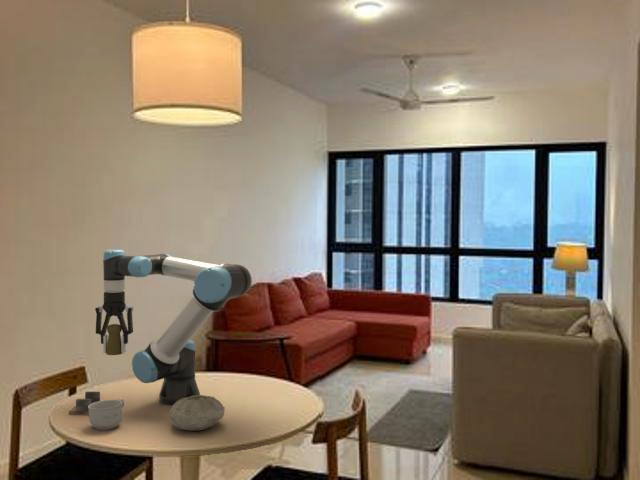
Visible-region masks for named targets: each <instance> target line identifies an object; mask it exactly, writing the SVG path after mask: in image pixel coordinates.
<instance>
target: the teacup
mask: <svg viewBox="0 0 640 480" xmlns="http://www.w3.org/2000/svg"><path fill="white" fill-rule="evenodd" d="M124 407H125V401H124V399H123V398H117V399H103V400H100V401H98V402H94V403H92V404H90V405H89V406H88V408H89V414H88V417H89V419H88V420H89V423H90V424H89V425H91V426H92V427H93V428H94V429H96V430H99V431H108V430H111V429H114V428H116V427H118V426H119V424H120V423H121V422H122V421H123V416H124V415H123V414H124V413H123V410H124V409H123V408H124Z"/></svg>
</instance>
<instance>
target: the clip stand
mask: <svg viewBox="0 0 640 480" xmlns="http://www.w3.org/2000/svg"><path fill="white" fill-rule="evenodd" d="M98 401H101V391H85V392H84V398H76V399H75V406H73V407H72V408H71V409H70V410H69V411H68V415H89V408H88V406H89V405H90V404H92V403H94V402H98Z"/></svg>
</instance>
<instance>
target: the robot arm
mask: <svg viewBox="0 0 640 480" xmlns="http://www.w3.org/2000/svg"><path fill="white" fill-rule="evenodd" d="M102 265H103V266H102V267H103V291H104V292H103V304H102V306H96V307H95V308H94V310H95V313H96V316H95V317H96V318H95V334H97V335H99V336H100V343H101V344H102V346H103V350H102V351H103V354H106V351H107V344H108V336H109V334H107V332H108V331H107V327H108V326H109V325H110V324H109V323H110V321H111V318H112V317H113V316H114V317H117V320H118V322H119V325H121V329H122V330H121V333H122V334H121V335H120V336H121V353H123V354H125V353H126V345H128V343H129V335H131V334H133V333H134V322H133V311H134V307H133V306H127V305H126V299H125V298H126V297H125V296H126V295H125V293H126V291H125V287H126V286H125V285H126V284H125V283H126V281H125V280H126V278H125V277H134V278H145V277H148V276H151V275H161V276H167V277H170V278H176V279H181V280H186V281H191V282H193V283H194V286H193V289H192V297H191V299H190V300H189V301H188V302H187V303H186V305H185V306H184V307H183V309H181V311H180V312H179V313H178V314H177V316H176V317H175V318H174V319H173V321H172V322H171V323H170V325H169V326H168V327H167V328H166V330H165V331H164V332H163V334H162V335H161V336H160V337H157V338H154V339H153V340H152V341H151V342H149V344H148V346H147V347H146V348H145V349H143V350H140V351H137V352H136V353H135V354H134V355H133V357H132V359H131V360H132V361H131V366H132V371H133V374H134V376H135V377H136V379H137V380H138V381H139V382H141V383H142V384H143V383H144V384H150V383H156V382H157V381H160V380H163V381H162V384H161V388H160V391H159V395H158V401H159V403H160V404H163V405H166V406H167V405H168V406H169V405H170V406H173V405H174V404H175V403H176V402H177V401H178V400H180V399H182V398H186V397H190V396H193V395H194V396H195V395H201V393H200V389H199V387H198V383H197V380H196V344H195V341H194V340H191V339H192V337H194V336H195V334H196V332H198V330H200V328H201V327H202V325H203V324H204V323H205V322H206V321H207V320H208V318H209V317H211V315H212V314H213V312H219V311H221V309H222V308H224V306H225V305H226V303H227V302H228V301H229V300H231V299H236V298H240V297H242V296H244V295H246V294H247V293H248V292H249V291H250V289H251V286H252V282H253V281H252V276H251V275H252V274H251V273H250V271H249V270H248V268H246V267H245V266H243V265H242V264H236V263H235V264H233V263H232V264H231V263H226V262H225V263H222V264H215V263H210V262H205V261H198V260H193V259H189V258H188V259H187V258H182V257H176V256H172V255H170V254H168V253H157V254H145V255H125V251H124V250H123V249H107V250H105V251H104V252H103V260H102ZM103 311H104V312H105V317H104V322H103V325H102V319H103ZM124 311H125V312H126V319H127V320H126V321H125V317H124V314H123V313H124ZM126 322H127V324H126Z"/></svg>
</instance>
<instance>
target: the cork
mask: <svg viewBox="0 0 640 480" xmlns="http://www.w3.org/2000/svg"><path fill="white" fill-rule="evenodd" d="M106 332H107V333H108V344H107V351H106V353H105V355H107V356H118V355H119V356H120V355H123V354H124V353H121V336H122V335H121V333H122V329H121V325H120V323H118V324H117V323H111V324H108V327H107V331H106Z"/></svg>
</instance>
